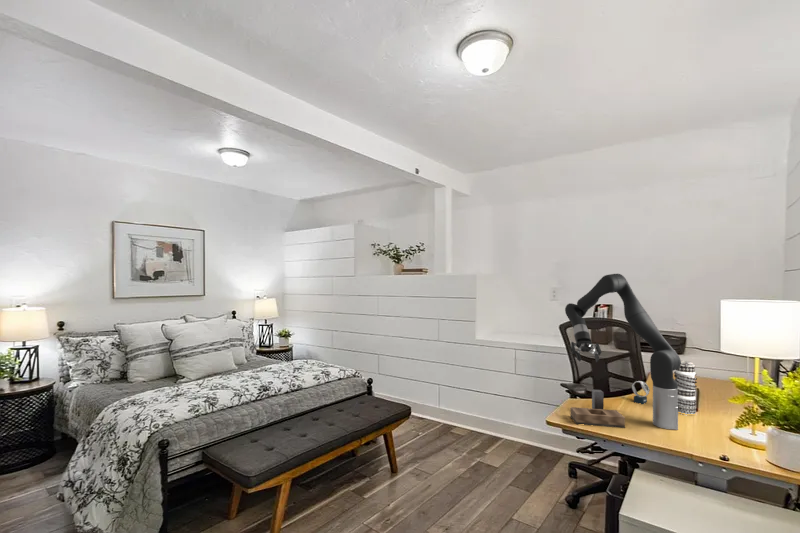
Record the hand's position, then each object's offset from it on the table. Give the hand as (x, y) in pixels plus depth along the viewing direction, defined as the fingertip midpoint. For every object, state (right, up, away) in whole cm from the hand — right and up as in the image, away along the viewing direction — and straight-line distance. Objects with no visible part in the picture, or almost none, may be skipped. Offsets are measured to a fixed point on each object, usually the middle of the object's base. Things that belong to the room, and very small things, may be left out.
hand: (588, 360), depth 204 cm
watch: (+32, -24, +9) cm, 41 cm away
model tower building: (+44, -24, -7) cm, 51 cm away
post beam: (-7, -22, -23) cm, 33 cm away
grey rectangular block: (-1, -23, -12) cm, 26 cm away
